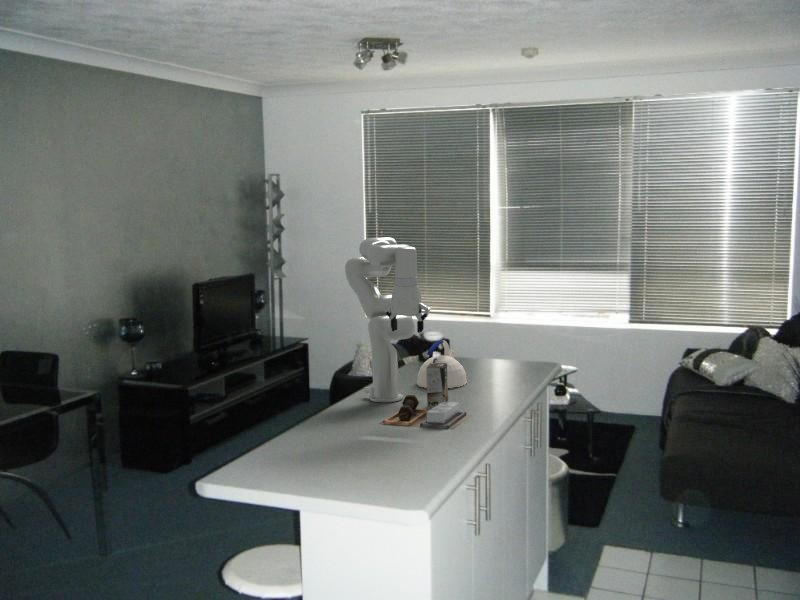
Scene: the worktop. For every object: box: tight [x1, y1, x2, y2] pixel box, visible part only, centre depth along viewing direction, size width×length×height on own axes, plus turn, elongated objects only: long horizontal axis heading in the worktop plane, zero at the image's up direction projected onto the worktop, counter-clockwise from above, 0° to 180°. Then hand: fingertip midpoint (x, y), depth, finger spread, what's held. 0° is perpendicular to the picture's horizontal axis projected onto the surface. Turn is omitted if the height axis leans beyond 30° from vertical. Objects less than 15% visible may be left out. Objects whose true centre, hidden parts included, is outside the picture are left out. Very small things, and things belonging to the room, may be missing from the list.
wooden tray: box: [378, 408, 472, 430], centre depth 268 cm, size 26×18×2 cm
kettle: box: [416, 339, 468, 389], centre depth 328 cm, size 20×21×18 cm
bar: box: [427, 401, 461, 425], centre depth 265 cm, size 6×15×4 cm, turn 157°
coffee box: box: [426, 363, 449, 410], centre depth 284 cm, size 9×6×16 cm
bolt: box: [397, 394, 420, 421], centre depth 271 cm, size 6×5×15 cm
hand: (407, 331), depth 282 cm, fingers open, 9 cm apart
